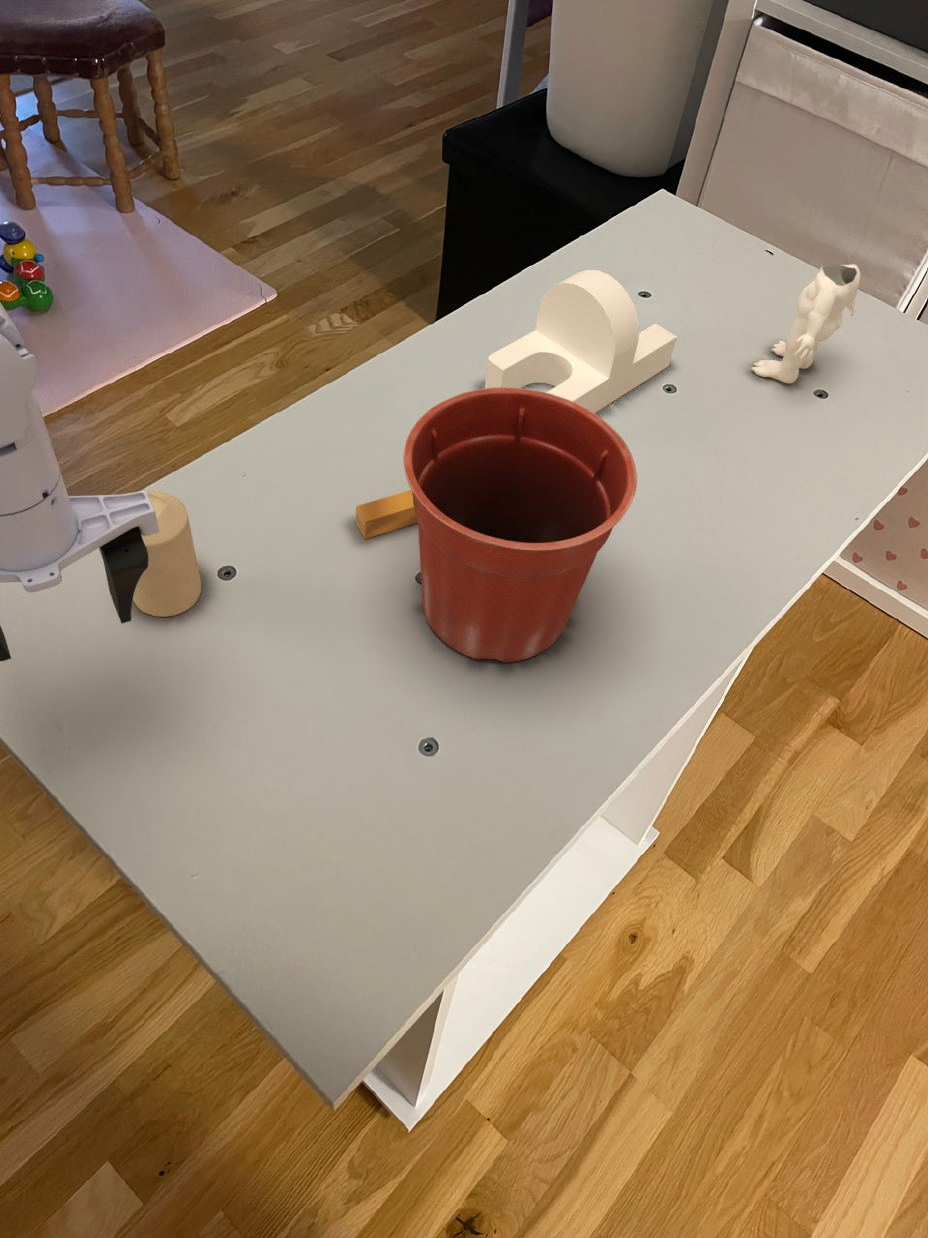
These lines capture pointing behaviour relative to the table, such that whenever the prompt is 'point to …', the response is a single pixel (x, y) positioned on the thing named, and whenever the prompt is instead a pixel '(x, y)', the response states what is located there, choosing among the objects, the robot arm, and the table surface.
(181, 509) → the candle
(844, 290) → the toy creature
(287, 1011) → the table surface
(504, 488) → the flower pot
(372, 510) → the fry stick
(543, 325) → the block with arch cutout
